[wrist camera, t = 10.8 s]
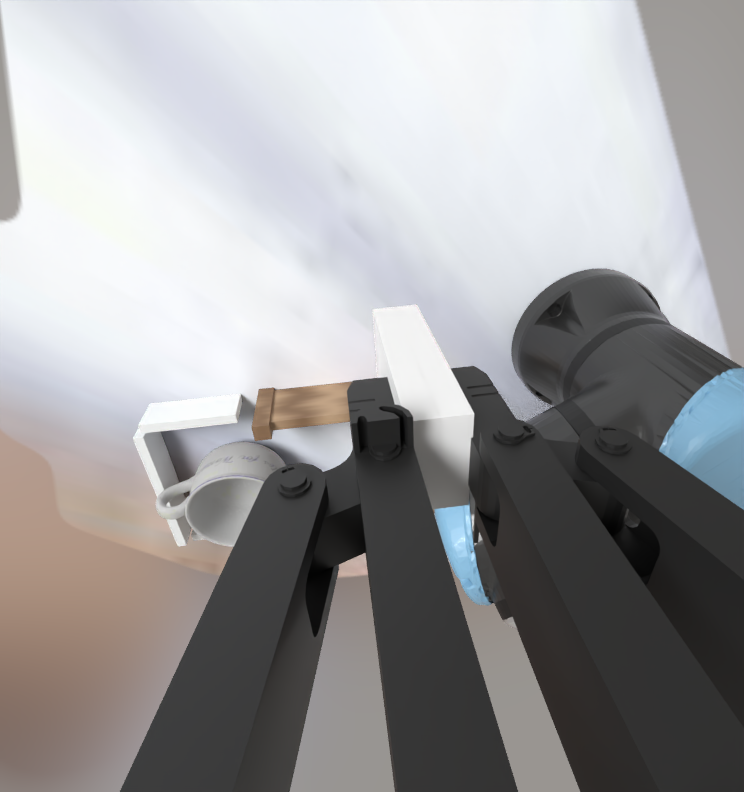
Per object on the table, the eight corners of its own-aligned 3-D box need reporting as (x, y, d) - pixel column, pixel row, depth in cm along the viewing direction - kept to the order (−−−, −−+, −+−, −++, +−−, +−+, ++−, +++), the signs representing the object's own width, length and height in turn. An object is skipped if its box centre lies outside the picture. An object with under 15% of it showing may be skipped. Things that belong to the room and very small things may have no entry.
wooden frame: (461, 367, 51) (481, 401, 45) (455, 497, 62) (471, 539, 56) (258, 389, 50) (251, 427, 44) (287, 518, 60) (285, 563, 55)
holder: (240, 393, 50) (235, 414, 47) (271, 519, 60) (269, 543, 57) (140, 404, 49) (127, 426, 46) (188, 529, 60) (181, 554, 56)
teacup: (300, 435, 54) (298, 483, 47) (285, 504, 59) (282, 555, 52) (172, 418, 51) (150, 466, 44) (169, 492, 56) (149, 545, 49)
